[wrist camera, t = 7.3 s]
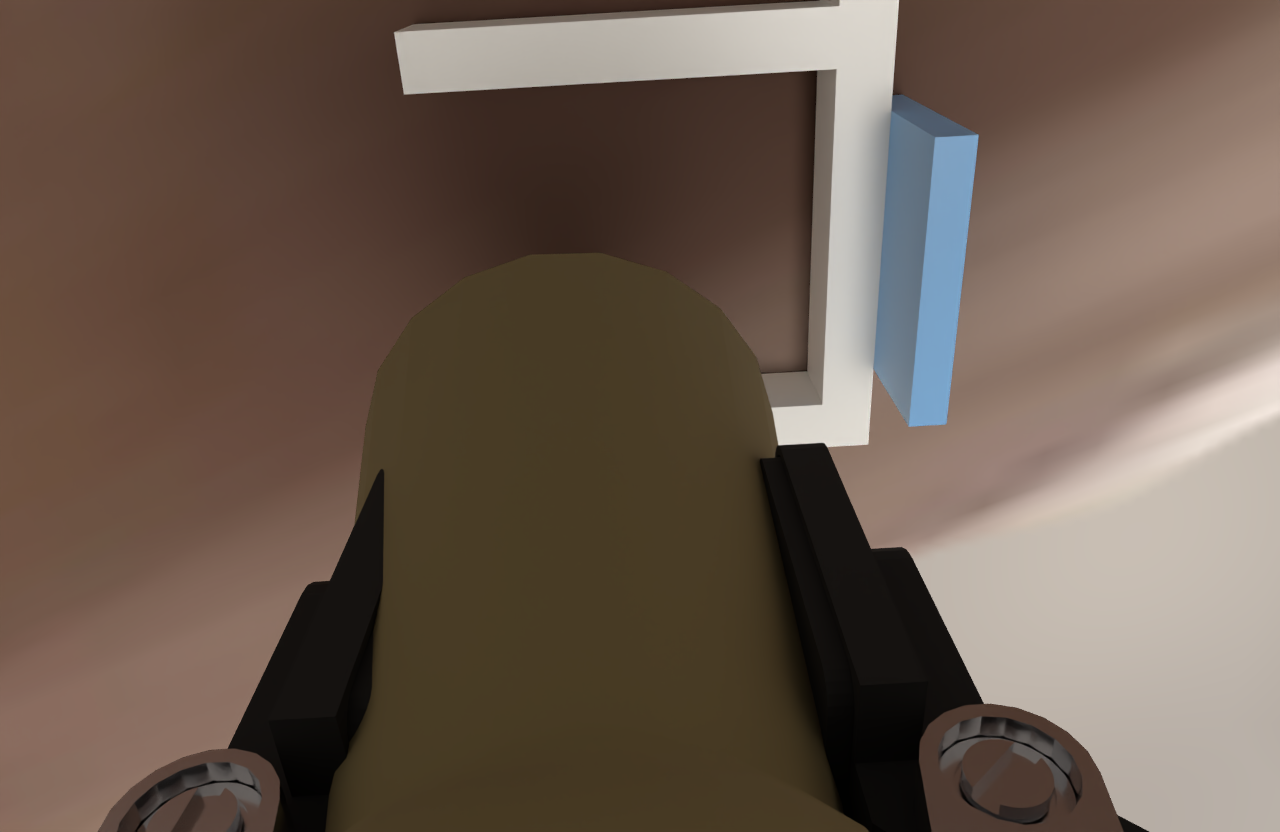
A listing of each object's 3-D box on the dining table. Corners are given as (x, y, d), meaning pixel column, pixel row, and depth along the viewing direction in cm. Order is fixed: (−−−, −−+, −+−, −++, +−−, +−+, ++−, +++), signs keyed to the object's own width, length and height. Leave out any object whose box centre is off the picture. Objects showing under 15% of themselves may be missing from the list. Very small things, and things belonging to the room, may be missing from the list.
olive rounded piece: (360, 597, 15) (-38, 1895, 5) (371, 223, 12) (-432, 1373, 2) (731, 623, 16) (1033, 1776, 6) (814, 279, 13) (1633, 1295, 3)
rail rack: (328, -527, 16) (222, -703, 12) (951, -565, 16) (1078, -755, 12) (474, 430, 25) (444, 535, 21) (879, 407, 25) (937, 507, 21)
